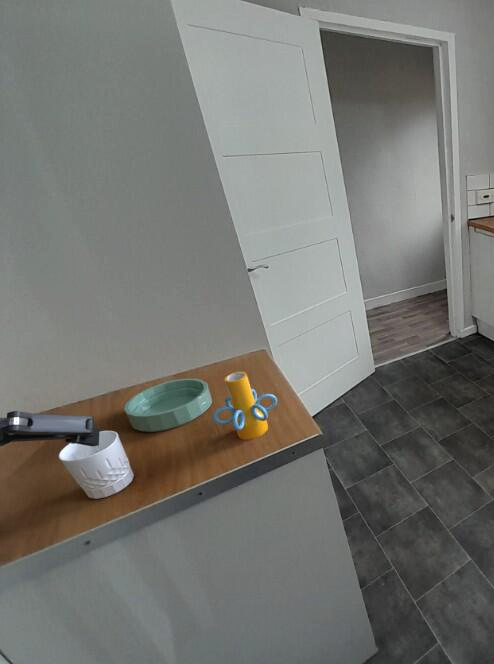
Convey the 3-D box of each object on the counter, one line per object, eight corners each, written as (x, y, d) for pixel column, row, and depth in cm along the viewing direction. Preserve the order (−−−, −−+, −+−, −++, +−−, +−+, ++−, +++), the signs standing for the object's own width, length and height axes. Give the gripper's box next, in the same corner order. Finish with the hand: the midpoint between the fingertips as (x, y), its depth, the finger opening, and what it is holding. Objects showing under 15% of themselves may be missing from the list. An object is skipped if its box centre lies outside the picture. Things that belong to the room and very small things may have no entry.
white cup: (77, 488, 78) (53, 448, 73) (130, 463, 84) (110, 425, 79) (89, 509, 74) (64, 467, 69) (144, 481, 80) (123, 441, 75)
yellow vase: (212, 439, 91) (190, 383, 84) (253, 412, 100) (236, 359, 93) (253, 454, 87) (233, 396, 81) (292, 424, 96) (277, 370, 90)
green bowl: (117, 439, 90) (109, 421, 88) (151, 400, 104) (144, 383, 102) (199, 427, 95) (193, 409, 93) (221, 390, 108) (216, 374, 106)
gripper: (-309, 500, 38) (-84, 499, 57) (47, 433, 47) (140, 451, 66) (-282, 421, 41) (-75, 445, 59) (52, 372, 50) (140, 406, 68)
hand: (39, 448), depth 63 cm, fingers open, 13 cm apart
